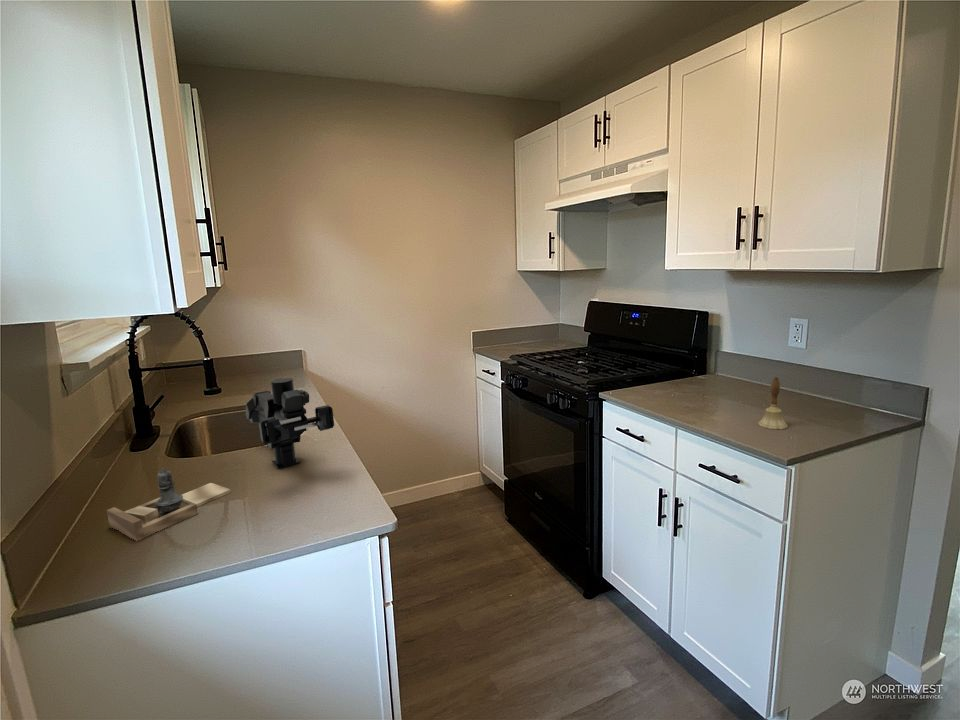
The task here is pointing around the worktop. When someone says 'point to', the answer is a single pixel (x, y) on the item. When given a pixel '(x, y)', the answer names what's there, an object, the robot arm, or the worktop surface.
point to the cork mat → (204, 494)
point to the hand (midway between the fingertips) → (308, 431)
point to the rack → (138, 531)
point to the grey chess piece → (167, 494)
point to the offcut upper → (144, 513)
